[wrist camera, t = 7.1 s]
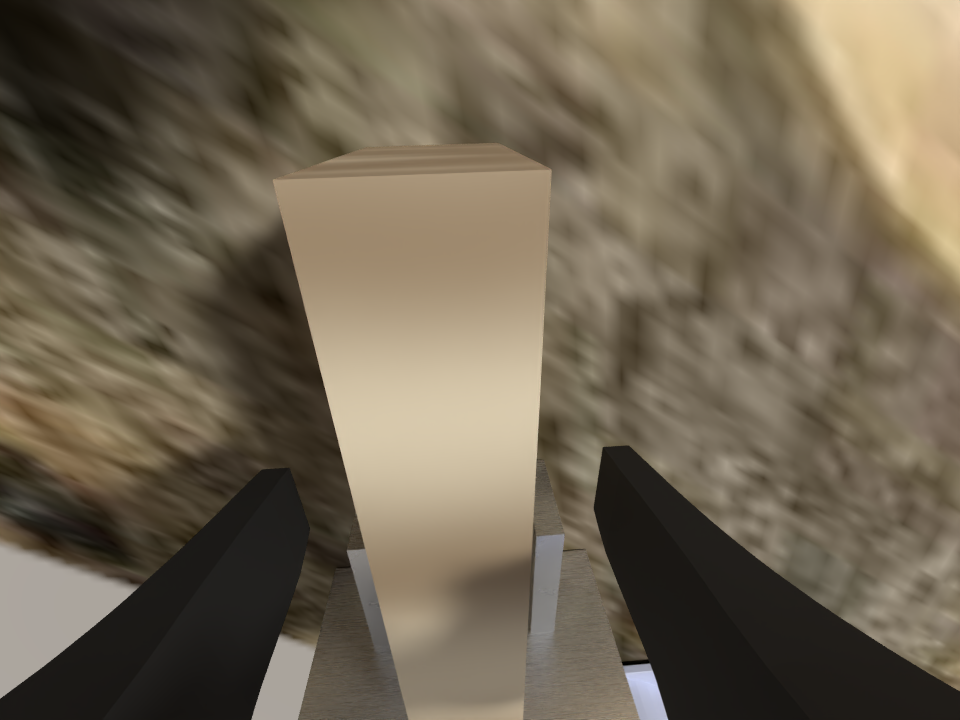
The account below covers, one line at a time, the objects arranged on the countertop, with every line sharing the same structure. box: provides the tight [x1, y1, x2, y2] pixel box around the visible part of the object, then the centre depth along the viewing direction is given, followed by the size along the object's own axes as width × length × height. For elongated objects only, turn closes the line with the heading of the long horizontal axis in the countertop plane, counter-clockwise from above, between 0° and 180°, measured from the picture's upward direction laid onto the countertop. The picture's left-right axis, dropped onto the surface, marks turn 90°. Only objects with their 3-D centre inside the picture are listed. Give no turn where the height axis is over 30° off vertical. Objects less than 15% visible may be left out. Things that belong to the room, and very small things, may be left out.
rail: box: [273, 143, 552, 720], centre depth 11 cm, size 14×3×6 cm, turn 2°
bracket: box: [298, 460, 640, 720], centre depth 13 cm, size 6×10×6 cm, turn 92°
